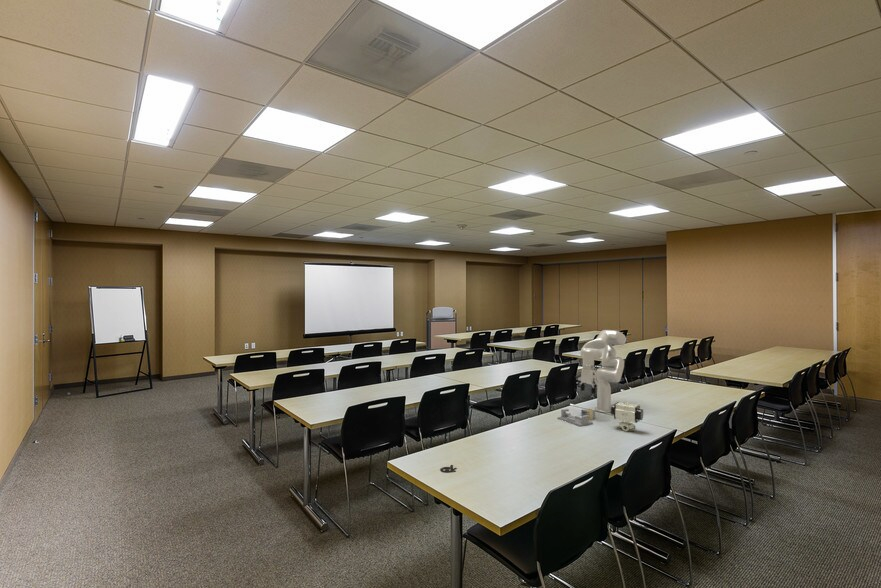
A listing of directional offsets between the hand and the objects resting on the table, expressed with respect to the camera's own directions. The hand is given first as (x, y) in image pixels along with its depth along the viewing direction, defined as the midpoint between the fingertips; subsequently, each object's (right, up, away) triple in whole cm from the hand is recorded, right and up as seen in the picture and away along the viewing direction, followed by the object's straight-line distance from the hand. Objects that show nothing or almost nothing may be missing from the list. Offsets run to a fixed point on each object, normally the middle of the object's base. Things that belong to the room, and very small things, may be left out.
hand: (588, 391), depth 293 cm
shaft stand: (-11, -19, -6) cm, 23 cm away
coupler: (0, -19, 0) cm, 19 cm away
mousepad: (-97, -18, -85) cm, 130 cm away
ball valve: (+16, -19, -24) cm, 35 cm away
